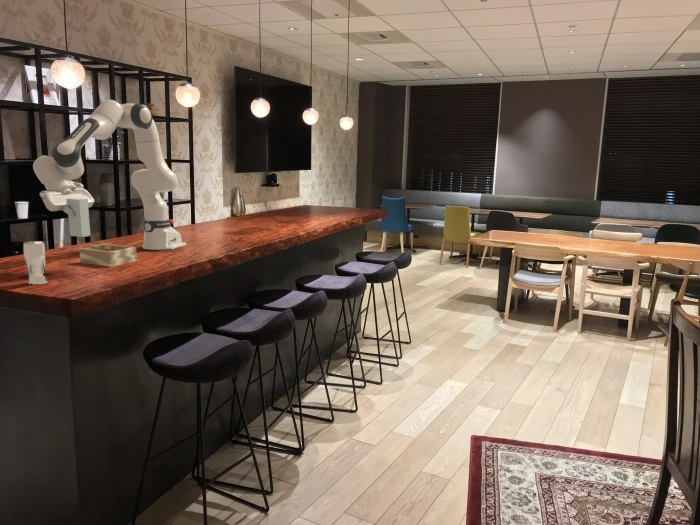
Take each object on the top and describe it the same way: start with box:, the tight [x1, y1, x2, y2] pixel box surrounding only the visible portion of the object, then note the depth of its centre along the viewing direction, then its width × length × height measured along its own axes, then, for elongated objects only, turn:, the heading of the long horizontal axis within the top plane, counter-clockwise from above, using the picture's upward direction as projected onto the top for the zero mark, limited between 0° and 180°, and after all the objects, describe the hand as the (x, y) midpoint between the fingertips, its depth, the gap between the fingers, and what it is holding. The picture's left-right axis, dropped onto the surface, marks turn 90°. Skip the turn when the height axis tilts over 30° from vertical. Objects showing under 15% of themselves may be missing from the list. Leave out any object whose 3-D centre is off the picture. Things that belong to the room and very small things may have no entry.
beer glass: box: [23, 240, 48, 286], centre depth 205 cm, size 7×7×15 cm
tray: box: [79, 243, 138, 268], centre depth 240 cm, size 14×18×7 cm
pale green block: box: [67, 198, 91, 238], centre depth 226 cm, size 4×7×15 cm, turn 65°
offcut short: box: [89, 242, 111, 251], centre depth 242 cm, size 7×4×3 cm, turn 155°
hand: (79, 215), depth 226 cm, fingers closed on pale green block, 4 cm apart
